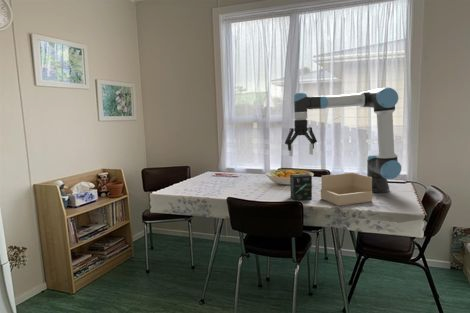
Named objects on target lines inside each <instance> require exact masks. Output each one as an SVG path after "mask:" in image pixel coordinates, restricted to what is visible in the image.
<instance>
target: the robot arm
mask: <svg viewBox="0 0 470 313" xmlns="http://www.w3.org/2000/svg"><path fill="white" fill-rule="evenodd" d="M293 97H294V98H293V104H294V105H293V107H294V108H293V109H294V110H293V111H294V116H293V118H294V127H293V128H292V127H290V128H289V132H288V135H287V137H286V139H285V140H284V141H285V142H284V144H285V145H287V151H288V155H289V157H294V156H293V155H294V154H293V152H294V151H293V142H294V141H295V140H296V139H297V137H298V136H305V138H306V139H307V140H308V141H309V146H308V147H309V154H308V155H314V149H315V144H316V143H317V142H318V140H317V137H316V136H315V134H314V131H313V128H312V127H311V126H309V127H308V110H322V109H332V108H335V109H336V108H349V107H350V108H351V107H360V108H373V113H374V114H376V124H377V125H376V126H377V127H376V128H377V141H378V142H377V143H378V144H377V145H378V154H375V155H373V154H372V155H368V156H367V159H366V160H367V161H366V164H367V165H366V166H367V169H366V171H367V174H366V176H368V177H372V193H388V192H390V185H389V183H388V180H394V179H396V178H398V177H399V175H401V172H402V165H401V163H400V162H399V161H398V155H397V154H396V153H395V139H394V137H395V136H394V120H393V119H394V118H393V117H394V116H393V114H394V112H395V111H396V105H397V104H398V101H399V94H398V92H397V91H396V90H395V89H394V88H392V87H380V88H375V89H372V90H367V91H361V92H359V93H351V94H349V93H348V94H339V95H338V94H337V95H313V96H311V95H308V93H307V92H296V93H294V96H293Z"/></svg>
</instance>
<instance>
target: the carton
mask: <svg viewBox="0 0 470 313" xmlns="http://www.w3.org/2000/svg"><path fill="white" fill-rule="evenodd" d="M320 199H321V200H323V201H326V202H328V203H330V204H333V205H335V206H338V207H342V206H348V205H354V204H355V205H356V204H363V203H370V202H373V192H372V177H368V176H367V175H364V174H360V173H355V172H347V173H338V174H337V173H336V174H328V175H327V174H326V175H321V188H320Z"/></svg>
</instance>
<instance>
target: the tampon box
mask: <svg viewBox="0 0 470 313" xmlns="http://www.w3.org/2000/svg"><path fill="white" fill-rule="evenodd" d="M312 177H313V176H312V175H311V174H309V173H308V172H307V173H292V174H291V173H290V174H289V178H290V179H289V180H290V182H289V183H290V198H291V199H293V201H297V202H298V201H308V200H312V198H313V195H312V194H313V184H312V183H313V178H312Z"/></svg>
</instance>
